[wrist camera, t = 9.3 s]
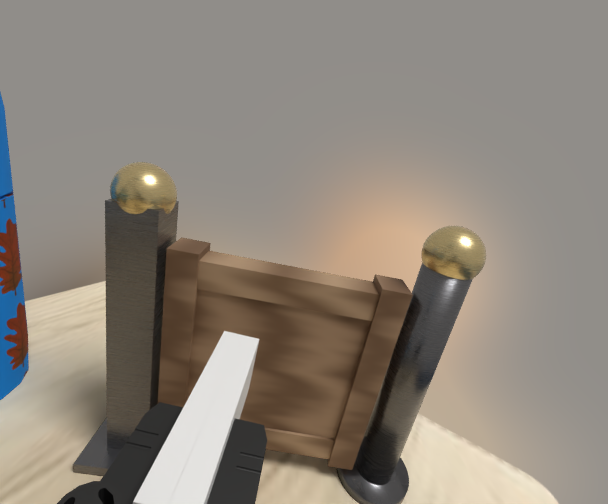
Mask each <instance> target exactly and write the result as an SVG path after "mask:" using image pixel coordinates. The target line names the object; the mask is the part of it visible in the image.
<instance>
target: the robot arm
mask: <svg viewBox="0 0 608 504" xmlns="http://www.w3.org/2000/svg"><path fill="white" fill-rule="evenodd" d="M258 344H259V339H257V338H253V337H249V336H244V335H240V334H236V333H232V332H227V331H224V333H223V334H222V336H221V338H220V340H219V342H218V344H217V346H216V348H215V349H214V351H213V353H212V355H211V357H210V359H209V361H208V362H207V364H206V366H205V368H204V370H203V372H202V374H201V376H200V377H199V379H198V381H197V383H196V385H195V387H194V389H193V391H192V392H191V394H190V396H189V398H188V400H187V402H186V404H185V406H184V407H179V406H175V405H170V404H166V403H162V402H159V403H158V404H157V405H155V406H154V407H153V408H152V409H150V410H149V411H148V412H146V413H145V415H144V416H143V418H142V419H141V421H140V422H139V424H138V425H137V427H136V428H135V431H134V432H133V433H132V434H131V436H130V437H129V439H128V440H127V442H126V444H125V445H124V446H123V448H122V449H121V451H120V452H119V454H118V455H117V457H116V458H115V460H114V461H113V463H112V464H111V466H110V467H109V469H108V470H107V472H106V473H105V475H104V476H103V478H102V479H101V481H93V482H90V483H87V484H84V485H80V486H78V487H77V488H75V489H74V490H72V491H71V492H69V493H67V494H66V495H65V496H64V497H63V498H62V499H61V500H60V501H59V502H58V503H57V504H255V501H256V496H257V491H258V486H259V481H260V475H261V470H262V465H263V460H264V455H265V450H266V445H267V437H266V432H265V427H264V425H262V424H257V423H253V422H249V421H244V420H240V416H241V413H242V410H243V406H244V403H245V400H246V397H247V394H248V390H249V386H250V382H251V377H252V372H253V367H254V363H255V358H256V353H257V348H258Z"/></svg>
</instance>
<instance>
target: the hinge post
mask: <svg viewBox="0 0 608 504" xmlns="http://www.w3.org/2000/svg"><path fill="white" fill-rule="evenodd" d="M485 260H486V250H485V246H484V244H483V242H482V240H481V239H480V238H479V236H478V235H477V234H475V233H474V232H472V231H471V230H469V229H467V228H464V227H459V226H448V227H444V228H441V229H438V230H436V231H435V232H434V233H432V234H431V235H430V236H429V237H428V238H427V240H426V241H425V243H424V245H423V249H422V265H421V268H420V271H419V274H418V277H417V280H416V283H415V285H414V289H413V291H412V295H413V296H412V299H411V302H410V305H409V307H408V310H407V313H406V316H405V319H404V322H403V325H402V328H401V330H400V333H399V336H398V339H397V342H396V345H395V348H394V351H393V354H392V356H391V359H390V362H389V365H388V368H387V371H386V374H385V377H384V380H383V382H382V385H381V388H380V391H379V394H378V397H377V400H376V403H375V405H374V408H373V411H372V414H371V417H370V420H369V423H368V426H367V429H366V431H365V434H364V437H363V440H362V443H361V446H360V449H359V452H358V454H357V457H356V460H355V463H354V466H353V469H352V470H349V469H342V468H337V471H338V475H339V478H340V480H341V482H342V484H343V486H344V488H345V489H346V491H347V492H348V493H349V494H350V495H351V496H352V497H353V498H354V499H355V500H356V501H357V502H359V503H360V504H401V503H402V501H403V499H404V497H405V495H406V493H407V490H408V486H409V477H408V473H407V469H406V467H405V465H404V463H403V461H402V459H401V458H400V456H401V453H402V451H403V448H404V446H405V443H406V441H407V438H408V436H409V434H410V431H411V429H412V426H413V424H414V421H415V419H416V416H417V414H418V412H419V409H420V407H421V404H422V402H423V399H424V397H425V394H426V392H427V389H428V387H429V385H430V382H431V380H432V377H433V375H434V372H435V370H436V367H437V365H438V363H439V360H440V358H441V355H442V353H443V350H444V348H445V345H446V343H447V341H448V338H449V335H450V333H451V331H452V328H453V326H454V323H455V321H456V318H457V316H458V314H459V311H460V309H461V306H462V304H463V301H464V299H465V296H466V294H467V292H468V289H469V287H470V284H471V282H472V279H473V278H474V277H476V276H477V275H478V274H479V273H480V271H481V270H482V268H483V267H484V264H485Z"/></svg>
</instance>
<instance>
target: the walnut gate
mask: <svg viewBox="0 0 608 504" xmlns="http://www.w3.org/2000/svg"><path fill="white" fill-rule="evenodd" d="M412 296H413V295H412V293H411V292H410V290H409V289H408V287H407V286H406V284H405V283H404V282H403V280H401V279H396V278H390V277H385V276H380V275H375V277H374V281H373V282H370V281H366V280H360V279H355V278H350V277H344V276H339V275H334V274H329V273H324V272H318V271H313V270H308V269H302V268H297V267H292V266H287V265H281V264H276V263H271V262H265V261H260V260H255V259H250V258H245V257H239V256H234V255H229V254H224V253H218V252H213V251H210V243H207V242H202V241H197V240H192V239H187V238H180V239H179V240H178V241H176V242H175V243H173V244H172V245H171V246H169V247H168V248H167V251H166V268H165V285H164V302H163V320H162V337H161V354H160V371H159V388H158V403H159V402H162V403H166V404H170V405H175V406H179V407H184V406H185V404H186V402H187V400H188V398H189V396H190V394H191V392H192V391H193V389H194V387H195V385H196V383H197V381H198V379H199V377H200V376H201V374H202V372H203V370H204V368H205V366H206V364H207V362H208V361H209V359H210V357H211V355H212V353H213V351H214V349H215V348H216V346H217V344H218V342H219V340H220V338H221V336H222V334H223V333H224V331H227V332H232V333H236V334H240V335H244V336H249V337H253V338H257V339H259V344H258V348H257V353H256V358H255V363H254V367H253V372H252V377H251V382H250V386H249V390H248V394H247V397H246V400H245V403H244V406H243V410H242V413H241V416H240V420H244V421H249V422H253V423H257V424H262V425H264V427H265V432H266V437H267V445H266V449H267V450H274V451H280V452H286V453H292V454H299V455H305V456H311V457H317V458H324V459H328V466H330V467H336V468H342V469H349V470H352V469H353V466H354V463H355V460H356V457H357V454H358V452H359V449H360V446H361V443H362V440H363V437H364V434H365V431H366V429H367V426H368V423H369V420H370V417H371V414H372V411H373V408H374V405H375V403H376V400H377V397H378V394H379V391H380V388H381V385H382V382H383V380H384V377H385V374H386V371H387V368H388V365H389V362H390V359H391V356H392V354H393V351H394V348H395V345H396V342H397V339H398V336H399V333H400V330H401V328H402V325H403V322H404V319H405V316H406V313H407V310H408V307H409V305H410V302H411V299H412Z"/></svg>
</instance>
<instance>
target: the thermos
mask: <svg viewBox="0 0 608 504" xmlns="http://www.w3.org/2000/svg"><path fill="white" fill-rule="evenodd" d="M12 188H13V187H12V177H11V167H10V158H9V148H8V138H7V129H6V119H5V110H4V105H3V101H2V97H1V93H0V400H1V399H3V398H4V397H5V396H6V395H7V394H8V393H10V392H11V391H12V390H13V389H14V388H15V387H16V386H18V385H19V384H20V383H21V381H22V379H23V378H24V376H25V374H26V373H27V371H28V331H27V320H26V311H25V301H24V292H23V282H22V273H21V263H20V253H19V244H18V235H17V225H16V215H15V205H14V196H13V189H12Z"/></svg>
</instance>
